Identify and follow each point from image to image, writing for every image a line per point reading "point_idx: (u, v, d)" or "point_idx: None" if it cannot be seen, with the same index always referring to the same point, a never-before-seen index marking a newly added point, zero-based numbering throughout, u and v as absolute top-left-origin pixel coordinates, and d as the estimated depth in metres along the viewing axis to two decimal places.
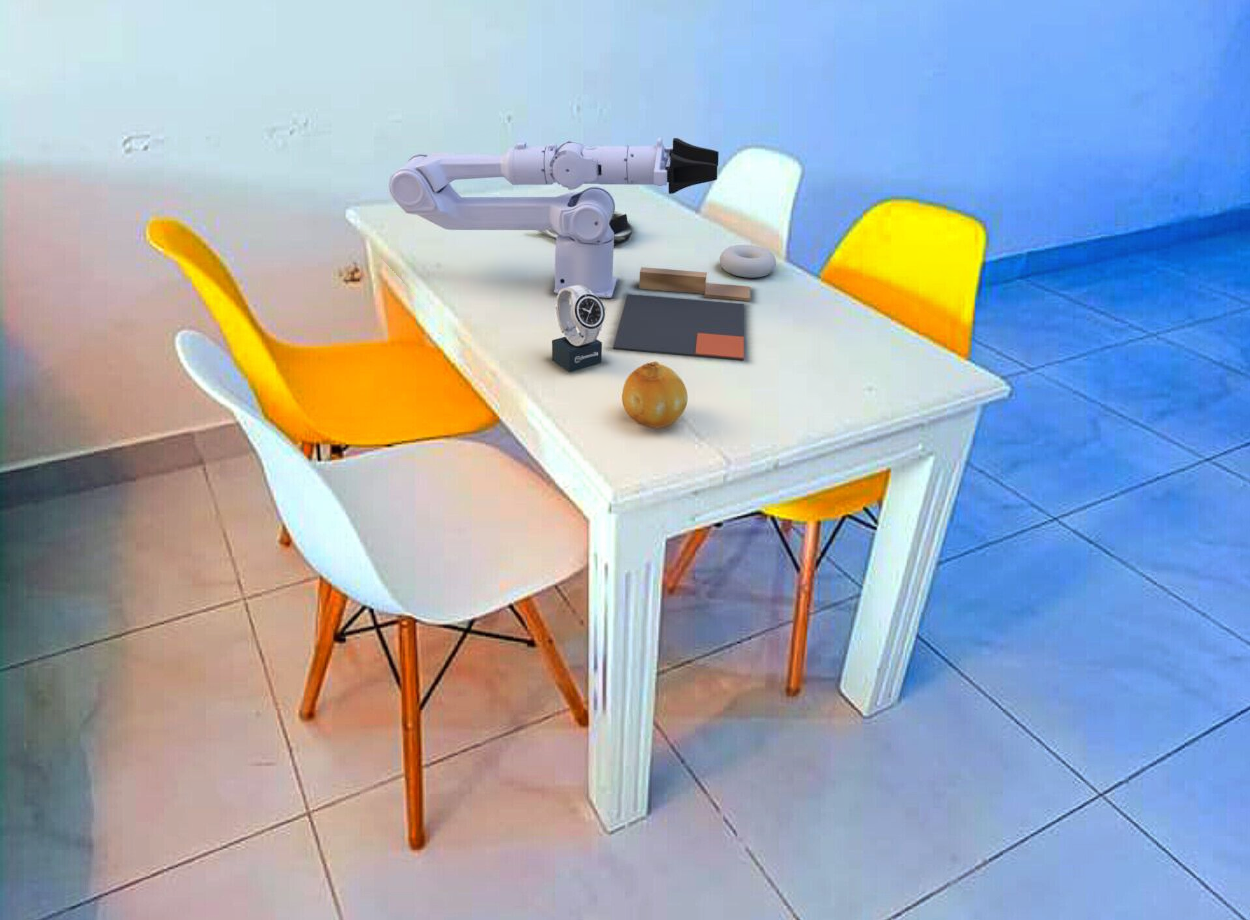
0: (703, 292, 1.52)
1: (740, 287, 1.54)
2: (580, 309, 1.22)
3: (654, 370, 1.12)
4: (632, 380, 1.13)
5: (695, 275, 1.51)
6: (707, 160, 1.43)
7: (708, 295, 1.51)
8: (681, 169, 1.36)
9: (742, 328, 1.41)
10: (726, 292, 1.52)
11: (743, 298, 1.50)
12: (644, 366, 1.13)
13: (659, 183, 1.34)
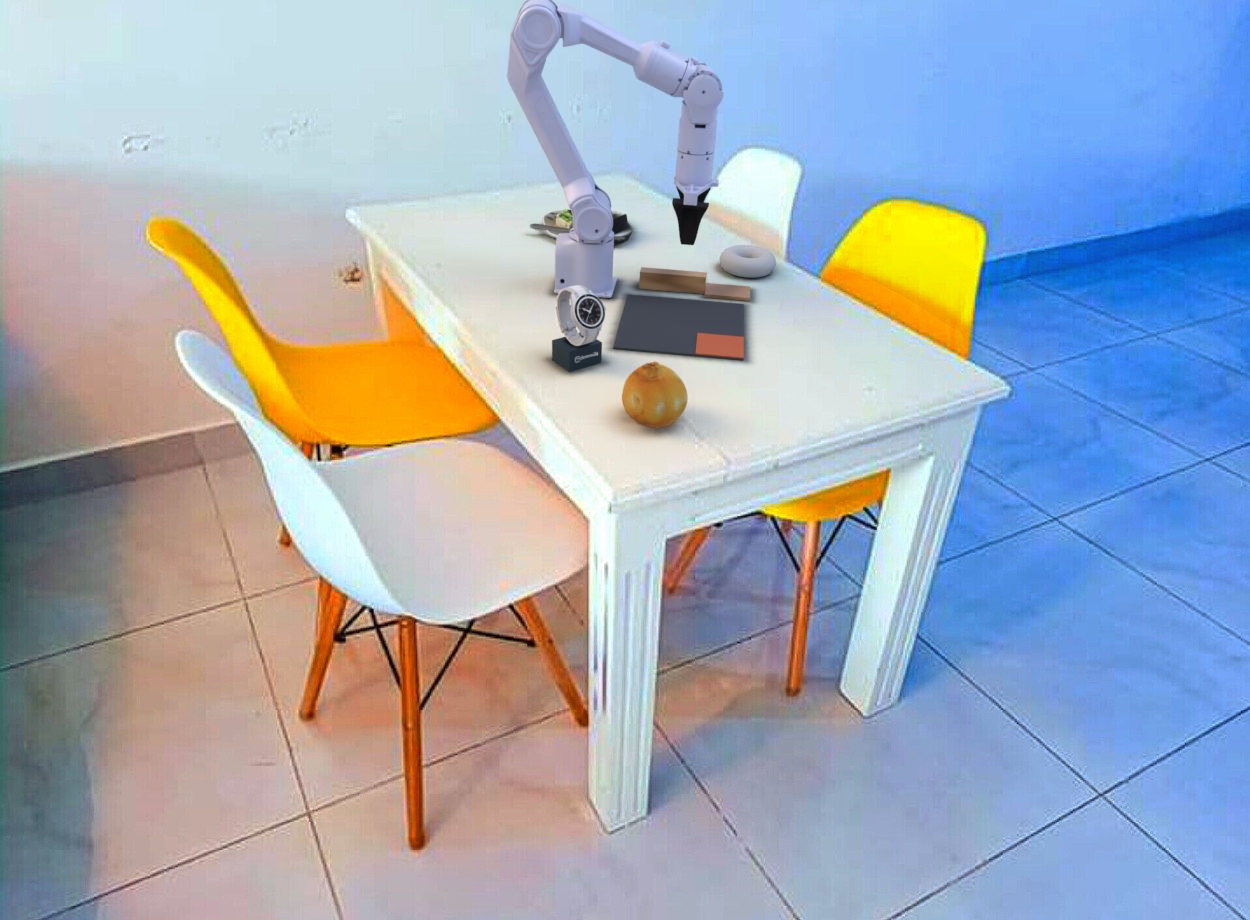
0: (703, 292, 1.52)
1: (740, 287, 1.54)
2: (580, 309, 1.22)
3: (654, 370, 1.12)
4: (632, 380, 1.13)
5: (695, 275, 1.51)
6: None
7: (708, 295, 1.51)
8: (693, 212, 1.42)
9: (742, 328, 1.41)
10: (726, 292, 1.52)
11: (743, 298, 1.50)
12: (644, 366, 1.13)
13: (685, 197, 1.38)
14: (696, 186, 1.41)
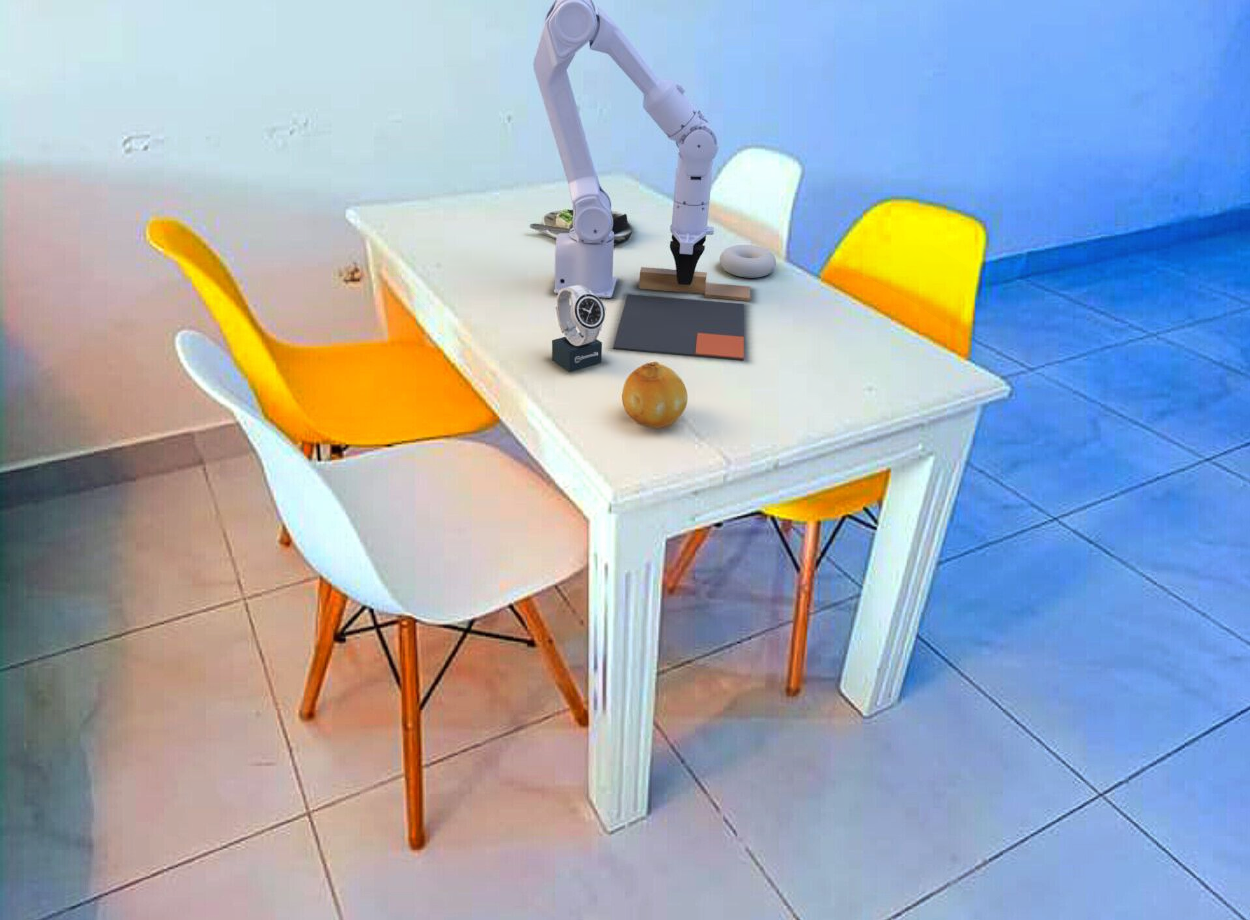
0: (703, 292, 1.52)
1: (740, 287, 1.54)
2: (580, 309, 1.22)
3: (654, 370, 1.12)
4: (632, 380, 1.13)
5: (695, 275, 1.51)
6: None
7: (708, 295, 1.51)
8: (690, 254, 1.48)
9: (742, 328, 1.41)
10: (726, 292, 1.52)
11: (743, 298, 1.50)
12: (644, 366, 1.13)
13: (681, 247, 1.42)
14: (692, 235, 1.45)
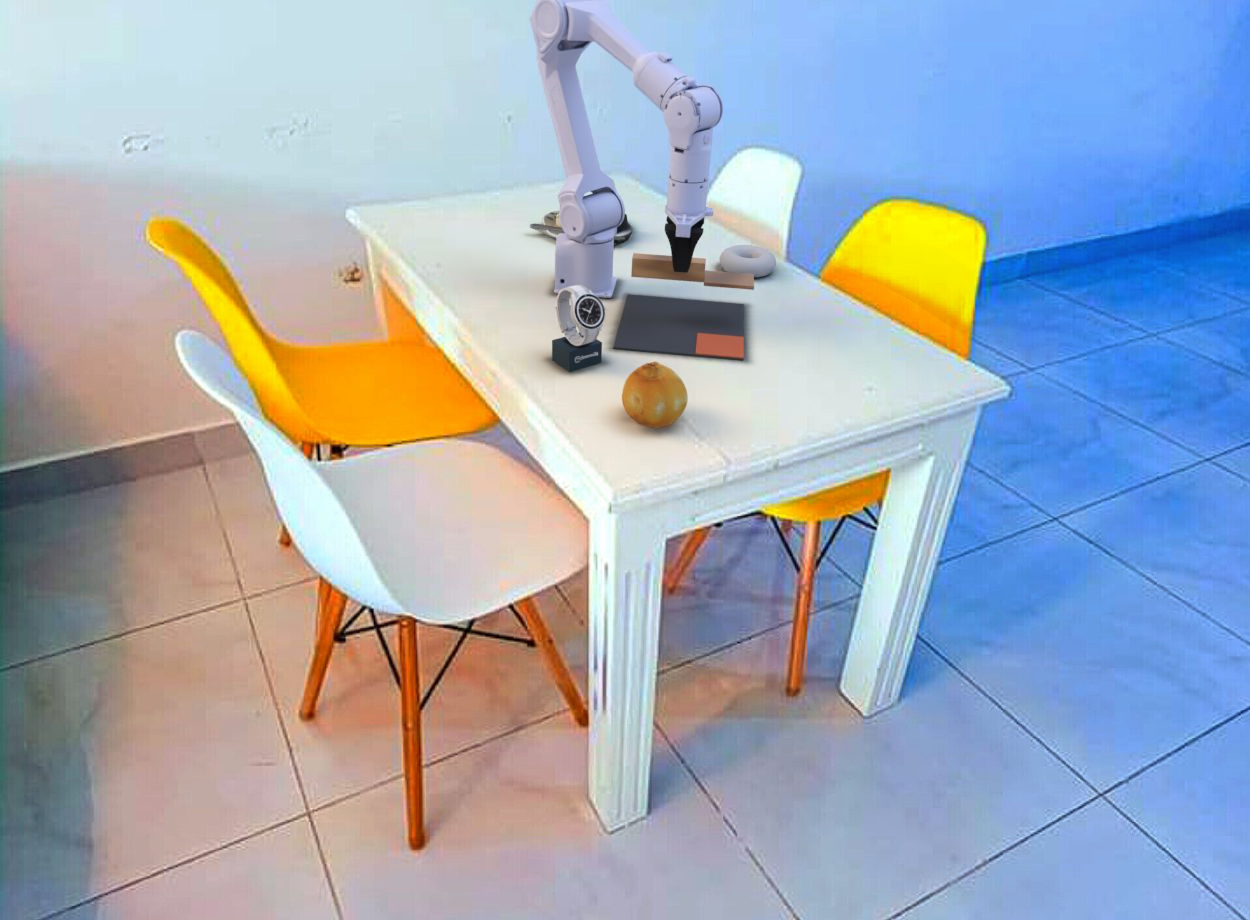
0: (702, 280, 1.38)
1: (743, 275, 1.39)
2: (580, 309, 1.22)
3: (654, 370, 1.12)
4: (632, 380, 1.13)
5: (693, 261, 1.37)
6: None
7: (708, 283, 1.36)
8: (687, 238, 1.34)
9: (742, 328, 1.41)
10: (727, 280, 1.37)
11: (746, 286, 1.36)
12: (644, 366, 1.13)
13: (678, 229, 1.28)
14: (689, 216, 1.31)
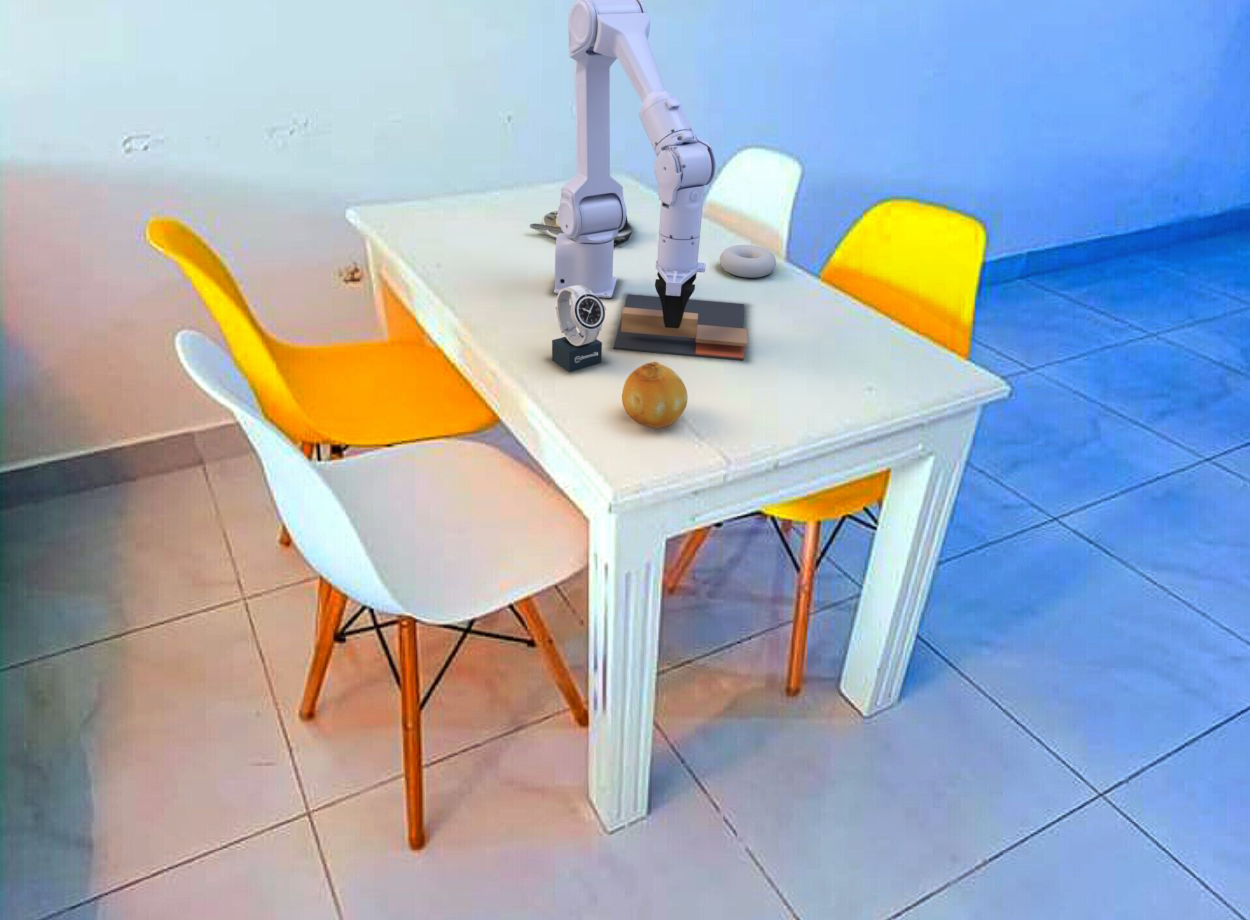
0: (694, 336, 1.34)
1: (736, 330, 1.35)
2: (580, 309, 1.22)
3: (654, 370, 1.12)
4: (632, 380, 1.13)
5: (685, 317, 1.33)
6: None
7: (700, 340, 1.32)
8: None
9: None
10: (720, 336, 1.33)
11: (740, 343, 1.32)
12: (644, 366, 1.13)
13: (668, 287, 1.23)
14: (680, 273, 1.27)
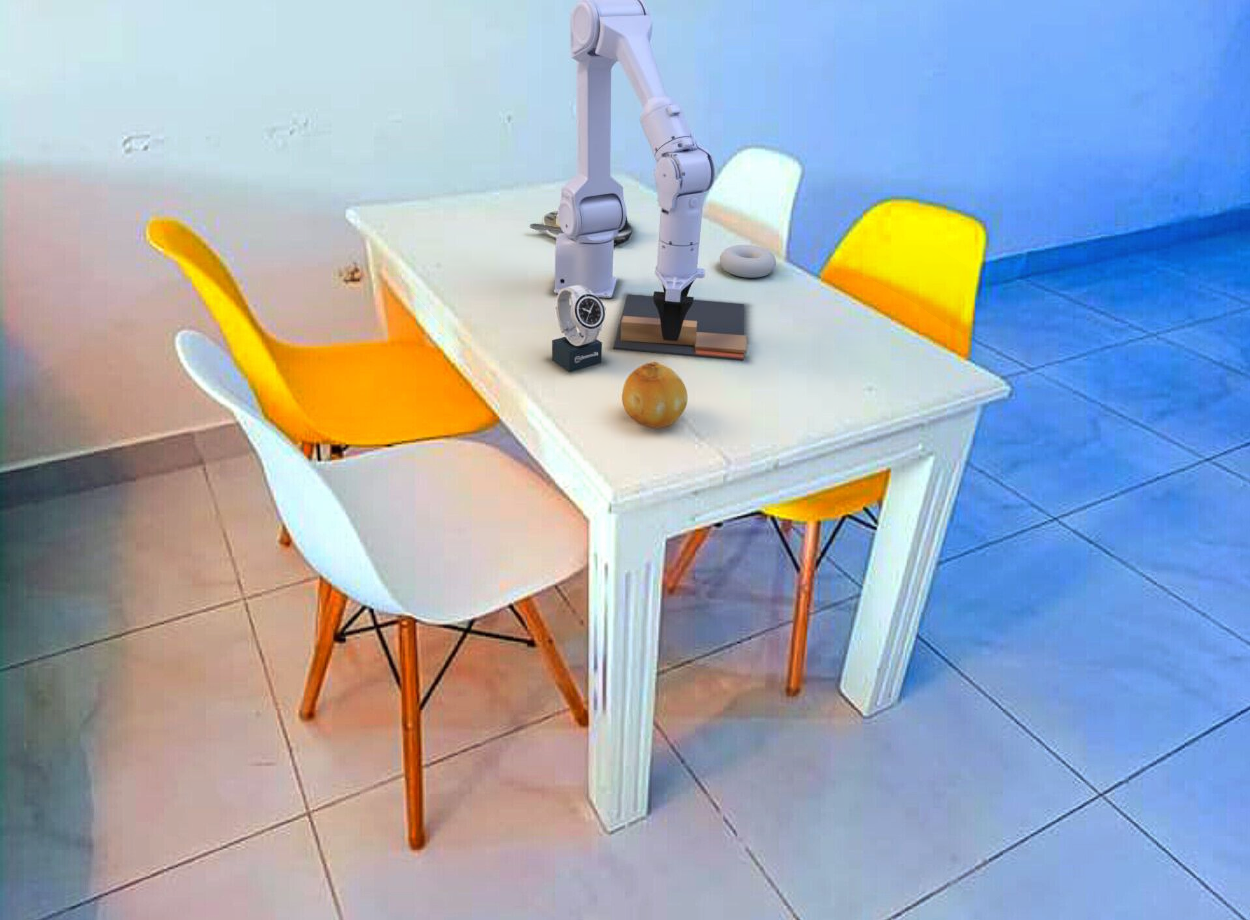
0: (694, 343, 1.34)
1: (735, 336, 1.36)
2: (580, 309, 1.22)
3: (654, 370, 1.12)
4: (632, 380, 1.13)
5: (684, 325, 1.33)
6: None
7: (699, 347, 1.33)
8: (676, 307, 1.28)
9: (742, 328, 1.41)
10: (719, 343, 1.34)
11: (739, 350, 1.33)
12: (644, 366, 1.13)
13: (667, 293, 1.24)
14: (680, 278, 1.27)
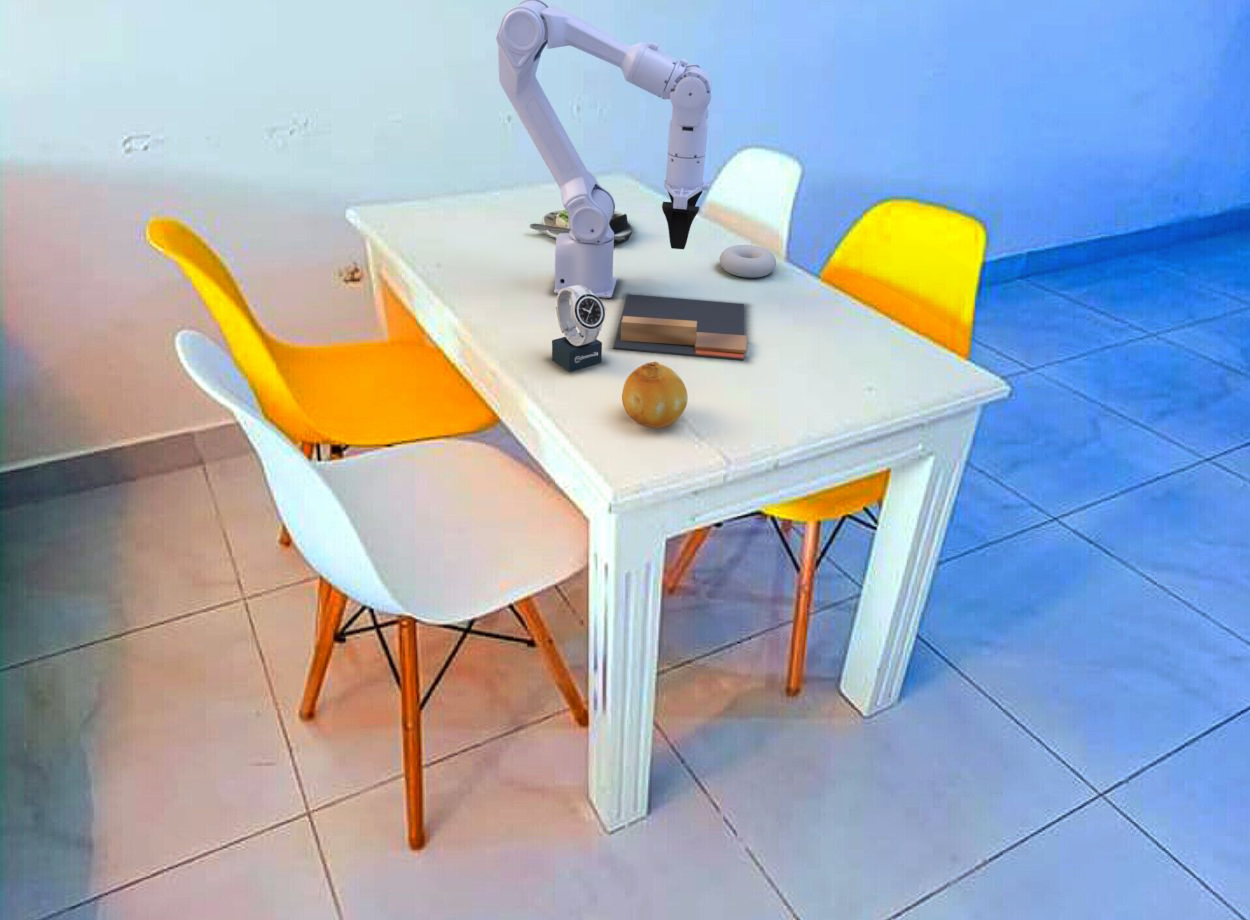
0: (694, 343, 1.34)
1: (735, 336, 1.36)
2: (580, 309, 1.22)
3: (654, 370, 1.12)
4: (632, 380, 1.13)
5: (684, 325, 1.33)
6: None
7: (699, 347, 1.33)
8: (683, 216, 1.40)
9: (742, 328, 1.41)
10: (719, 343, 1.34)
11: (739, 350, 1.33)
12: (644, 366, 1.13)
13: (675, 201, 1.36)
14: (686, 189, 1.39)
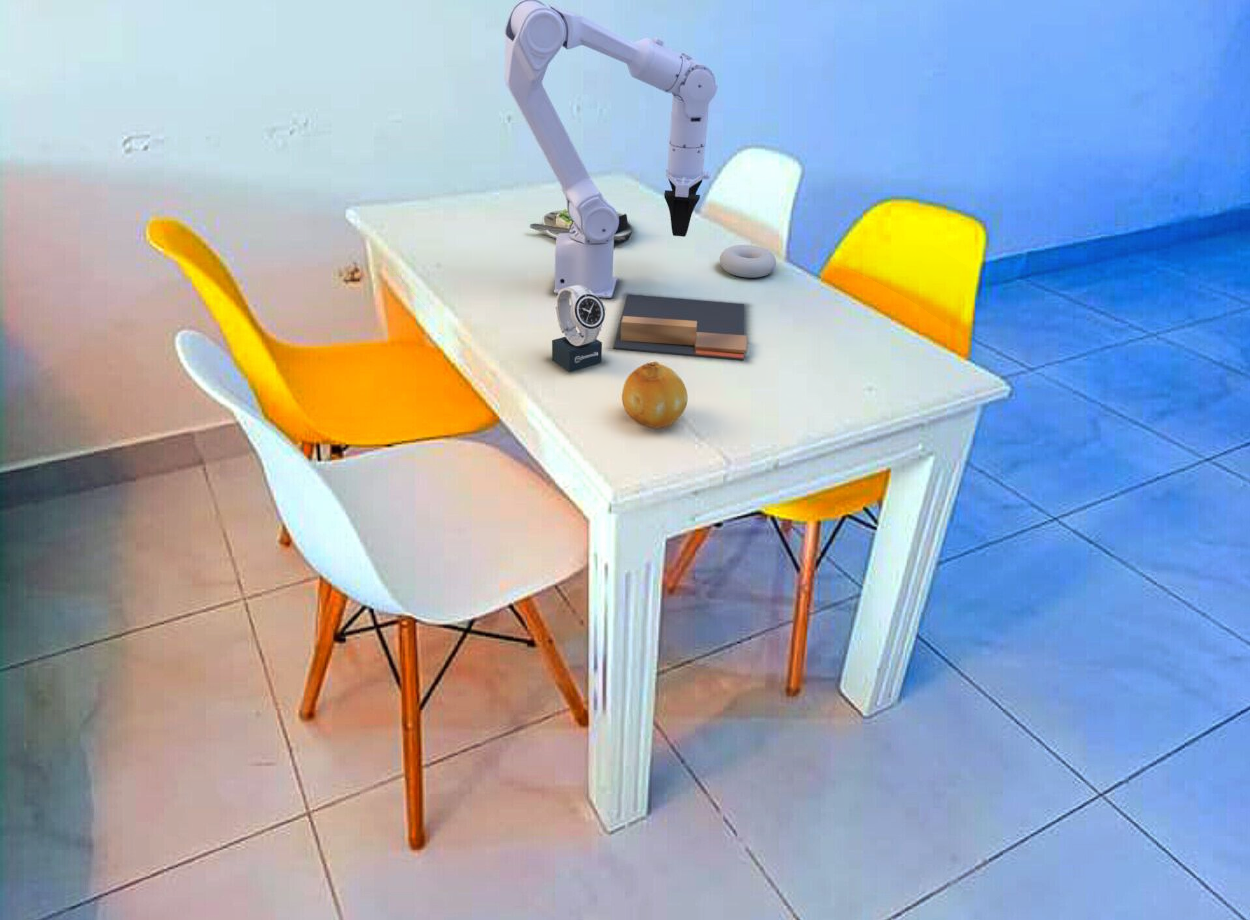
0: (694, 343, 1.34)
1: (735, 336, 1.36)
2: (580, 309, 1.22)
3: (654, 370, 1.12)
4: (632, 380, 1.13)
5: (684, 325, 1.33)
6: None
7: (699, 347, 1.33)
8: (685, 204, 1.45)
9: (742, 328, 1.41)
10: (719, 343, 1.34)
11: (739, 350, 1.33)
12: (644, 366, 1.13)
13: (677, 189, 1.41)
14: (688, 178, 1.44)
